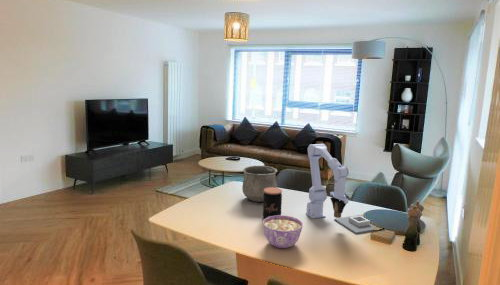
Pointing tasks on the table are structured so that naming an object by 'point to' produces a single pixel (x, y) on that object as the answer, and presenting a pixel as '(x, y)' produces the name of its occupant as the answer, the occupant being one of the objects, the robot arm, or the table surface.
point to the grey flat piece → (356, 224)
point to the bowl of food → (282, 230)
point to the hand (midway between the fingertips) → (337, 211)
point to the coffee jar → (272, 202)
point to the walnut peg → (336, 211)
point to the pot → (258, 181)
